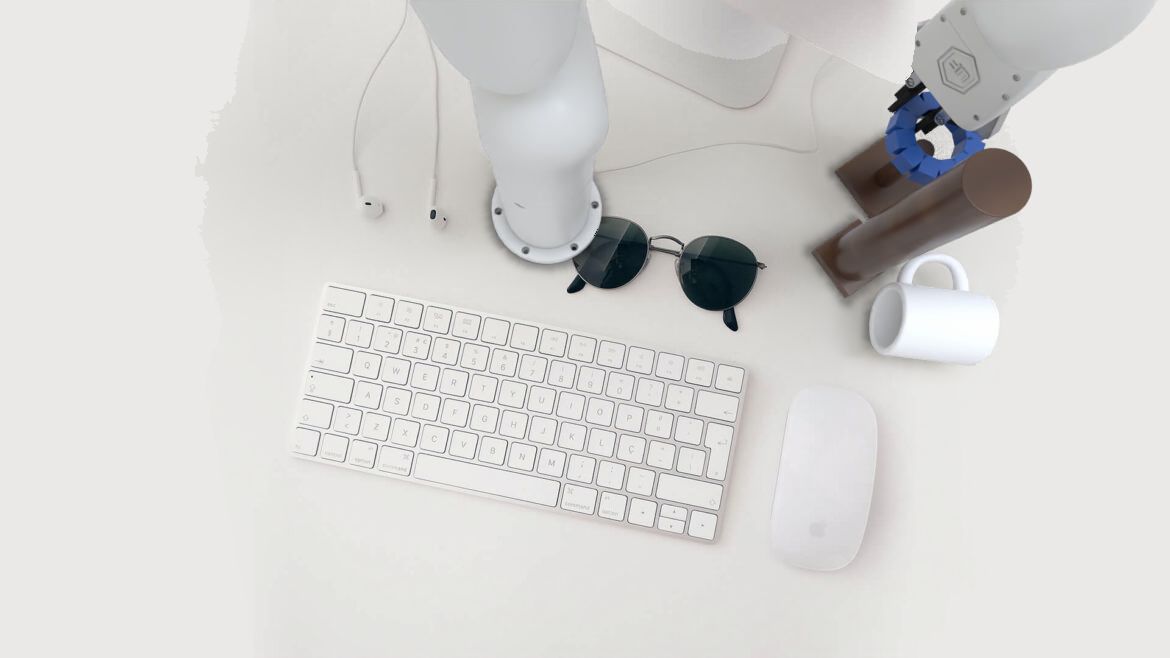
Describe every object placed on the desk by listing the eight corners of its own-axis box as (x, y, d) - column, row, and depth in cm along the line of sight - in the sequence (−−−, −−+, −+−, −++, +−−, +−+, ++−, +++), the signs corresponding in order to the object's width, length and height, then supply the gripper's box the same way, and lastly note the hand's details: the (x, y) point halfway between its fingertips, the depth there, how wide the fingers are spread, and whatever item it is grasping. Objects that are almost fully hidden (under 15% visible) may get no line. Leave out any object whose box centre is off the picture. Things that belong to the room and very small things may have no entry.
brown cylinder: (810, 252, 73) (938, 170, 48) (854, 221, 74) (1002, 125, 49) (844, 298, 73) (991, 239, 48) (888, 267, 73) (1056, 193, 49)
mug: (951, 368, 72) (999, 362, 64) (866, 357, 72) (903, 350, 64) (955, 266, 74) (1003, 249, 66) (872, 256, 73) (909, 237, 66)
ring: (867, 133, 64) (877, 124, 62) (931, 84, 65) (943, 73, 63) (925, 203, 63) (938, 196, 61) (989, 151, 65) (1003, 143, 63)
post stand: (834, 171, 75) (871, 139, 66) (886, 136, 75) (929, 99, 67) (875, 226, 74) (918, 200, 65) (927, 189, 75) (976, 159, 66)
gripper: (941, -59, 47) (833, 73, 65) (1078, 112, 45) (929, 198, 64) (1016, -108, 48) (889, 36, 66) (1153, 59, 46) (984, 159, 64)
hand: (909, 115), depth 64 cm, fingers closed on ring, 2 cm apart
